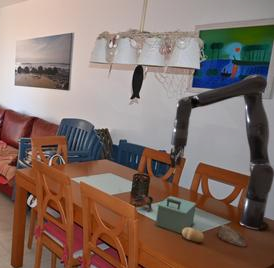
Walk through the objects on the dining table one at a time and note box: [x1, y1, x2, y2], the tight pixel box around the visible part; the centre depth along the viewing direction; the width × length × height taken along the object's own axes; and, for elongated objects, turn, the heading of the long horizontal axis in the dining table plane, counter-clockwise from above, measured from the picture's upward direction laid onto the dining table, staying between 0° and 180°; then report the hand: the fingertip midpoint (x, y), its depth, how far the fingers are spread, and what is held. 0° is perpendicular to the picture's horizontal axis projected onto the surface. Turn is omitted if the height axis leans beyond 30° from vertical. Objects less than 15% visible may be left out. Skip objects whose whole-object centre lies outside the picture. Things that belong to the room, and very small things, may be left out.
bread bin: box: [155, 204, 197, 235], centre depth 162 cm, size 17×13×10 cm
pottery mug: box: [132, 194, 154, 212], centre depth 180 cm, size 12×10×8 cm
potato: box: [181, 226, 205, 243], centre depth 147 cm, size 9×5×5 cm, turn 50°
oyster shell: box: [217, 224, 246, 247], centre depth 150 cm, size 10×12×5 cm
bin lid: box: [157, 195, 197, 215], centre depth 160 cm, size 18×13×5 cm
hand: (175, 166), depth 176 cm, fingers open, 8 cm apart
